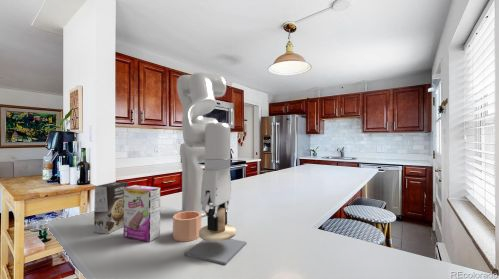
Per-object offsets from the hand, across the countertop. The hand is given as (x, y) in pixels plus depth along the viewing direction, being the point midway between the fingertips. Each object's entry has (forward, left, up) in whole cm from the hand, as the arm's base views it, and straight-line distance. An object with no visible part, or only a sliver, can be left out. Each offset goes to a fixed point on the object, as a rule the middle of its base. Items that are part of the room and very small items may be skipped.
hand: (217, 226), depth 66 cm
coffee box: (+2, -43, -7) cm, 44 cm away
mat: (0, 0, -7) cm, 7 cm away
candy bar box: (+3, -27, -7) cm, 28 cm away
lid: (0, 0, -2) cm, 2 cm away
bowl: (-4, -14, -7) cm, 16 cm away
